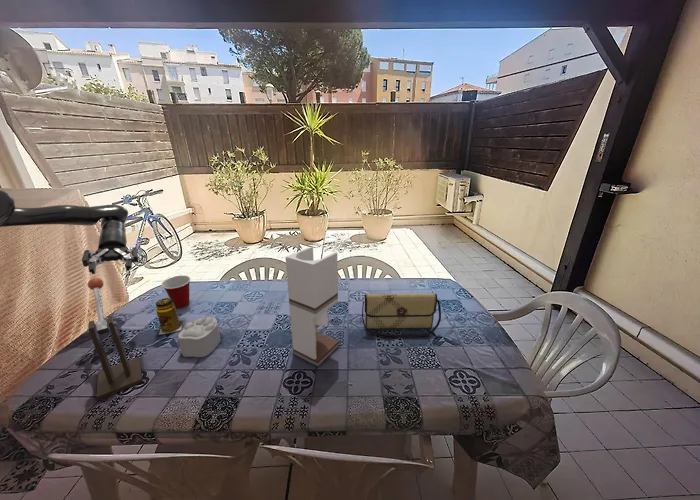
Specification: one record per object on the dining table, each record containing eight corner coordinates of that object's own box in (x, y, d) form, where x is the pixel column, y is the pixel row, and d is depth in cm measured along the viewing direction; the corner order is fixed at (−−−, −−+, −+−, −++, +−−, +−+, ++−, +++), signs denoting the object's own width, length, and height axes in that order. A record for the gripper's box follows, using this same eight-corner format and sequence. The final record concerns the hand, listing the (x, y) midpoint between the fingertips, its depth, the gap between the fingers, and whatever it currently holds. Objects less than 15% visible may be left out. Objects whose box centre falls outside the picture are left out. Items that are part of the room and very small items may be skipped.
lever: (88, 284, 83) (85, 277, 81) (104, 281, 86) (101, 274, 83) (96, 337, 75) (92, 330, 72) (113, 332, 77) (110, 325, 74)
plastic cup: (162, 312, 114) (156, 287, 110) (173, 300, 124) (167, 276, 120) (190, 310, 116) (185, 285, 112) (198, 297, 126) (193, 274, 122)
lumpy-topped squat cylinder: (177, 356, 90) (171, 334, 87) (200, 332, 102) (196, 312, 99) (207, 357, 89) (203, 335, 86) (227, 333, 102) (223, 313, 99)
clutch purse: (361, 338, 99) (362, 302, 94) (360, 326, 106) (361, 292, 101) (441, 336, 100) (446, 301, 95) (435, 325, 107) (440, 291, 102)
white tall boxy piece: (317, 366, 86) (313, 264, 74) (293, 353, 91) (285, 256, 80) (338, 346, 95) (337, 252, 83) (315, 335, 100) (310, 246, 89)
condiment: (158, 335, 100) (150, 307, 96) (163, 323, 108) (155, 296, 104) (181, 330, 103) (174, 303, 99) (184, 318, 110) (178, 292, 106)
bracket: (99, 374, 82) (77, 318, 76) (139, 359, 88) (123, 306, 82) (97, 400, 74) (73, 340, 67) (143, 381, 80) (124, 324, 73)
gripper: (83, 233, 92) (77, 263, 82) (136, 232, 101) (137, 259, 90) (88, 251, 96) (83, 281, 86) (138, 248, 105) (139, 275, 94)
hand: (110, 270), depth 88 cm, fingers open, 8 cm apart
